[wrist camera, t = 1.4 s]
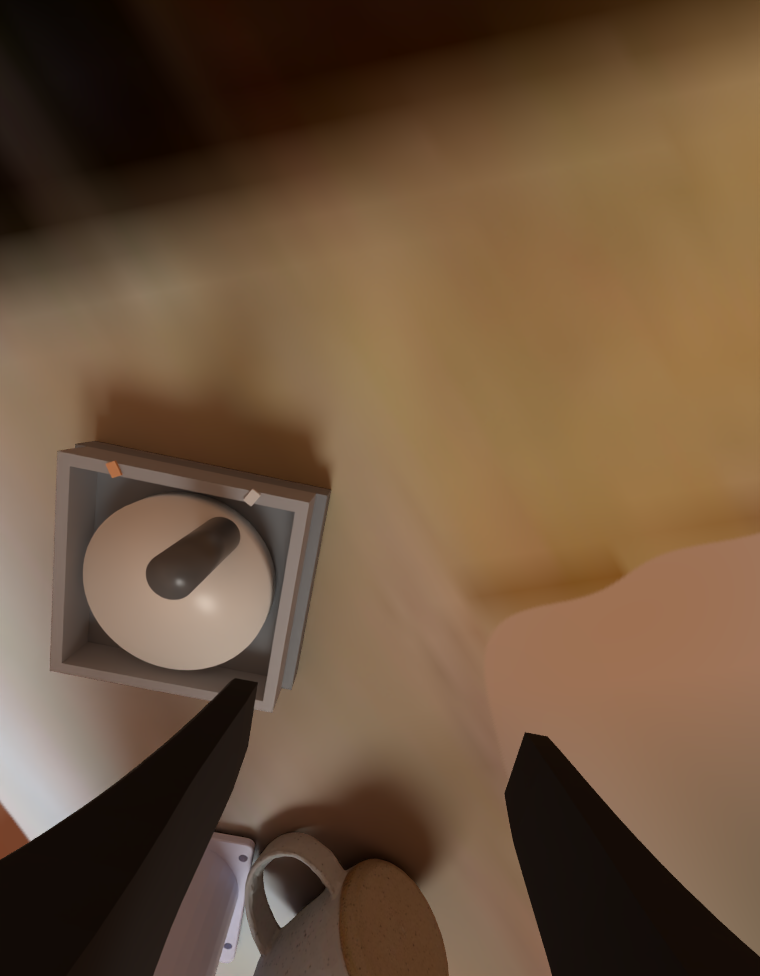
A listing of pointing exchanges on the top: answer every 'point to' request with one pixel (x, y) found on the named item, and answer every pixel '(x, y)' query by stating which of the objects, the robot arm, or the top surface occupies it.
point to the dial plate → (138, 474)
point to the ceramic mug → (345, 919)
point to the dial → (179, 580)
